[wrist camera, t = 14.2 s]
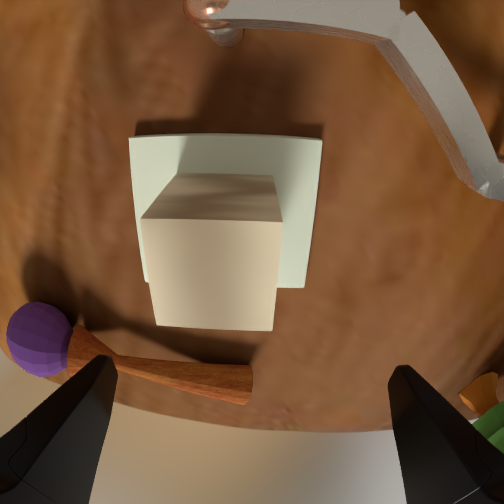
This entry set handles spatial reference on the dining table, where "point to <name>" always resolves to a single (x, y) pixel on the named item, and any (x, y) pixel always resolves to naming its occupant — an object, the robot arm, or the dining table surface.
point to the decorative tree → (486, 408)
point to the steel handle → (395, 53)
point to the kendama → (88, 346)
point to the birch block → (214, 251)
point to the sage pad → (237, 162)
